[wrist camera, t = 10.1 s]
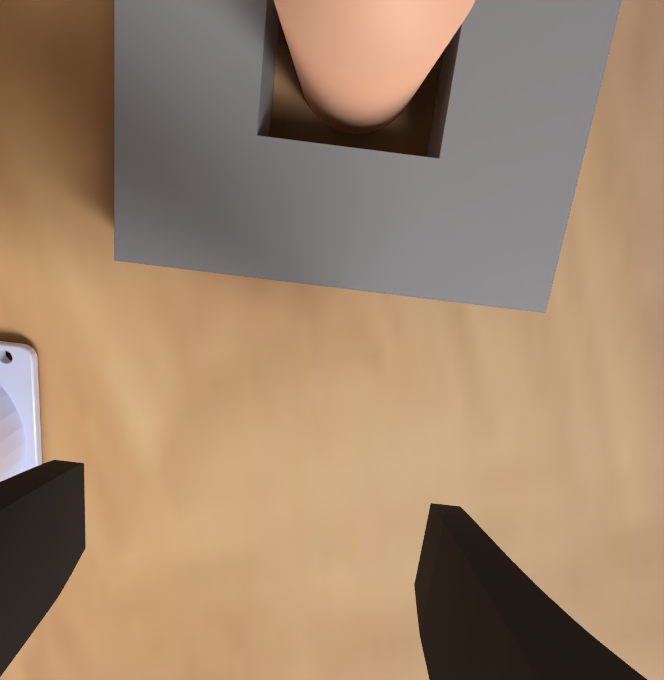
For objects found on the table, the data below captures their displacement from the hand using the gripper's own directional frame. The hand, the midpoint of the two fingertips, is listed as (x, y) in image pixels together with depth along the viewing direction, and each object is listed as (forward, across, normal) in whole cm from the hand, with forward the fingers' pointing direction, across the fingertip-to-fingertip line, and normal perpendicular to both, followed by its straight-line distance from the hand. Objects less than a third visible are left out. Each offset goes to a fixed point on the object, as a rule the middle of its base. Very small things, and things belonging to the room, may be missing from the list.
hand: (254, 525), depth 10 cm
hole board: (+9, -1, -11) cm, 15 cm away
